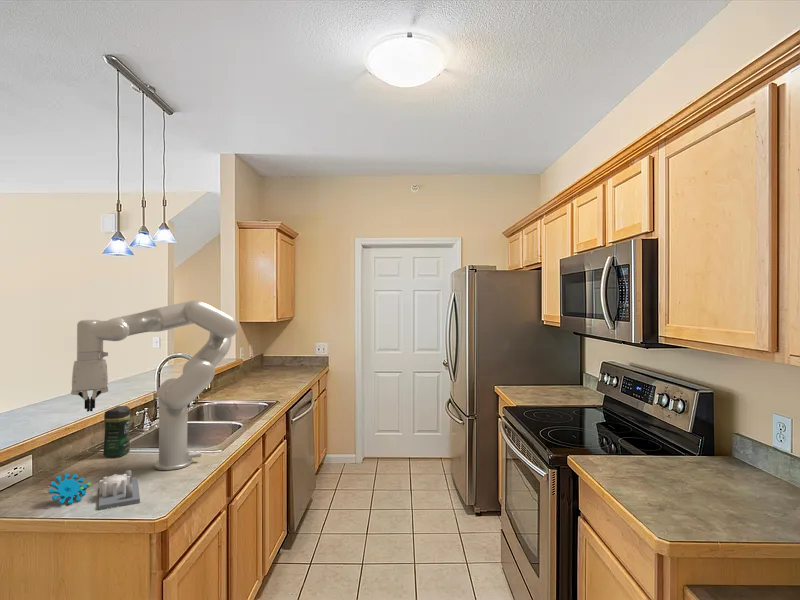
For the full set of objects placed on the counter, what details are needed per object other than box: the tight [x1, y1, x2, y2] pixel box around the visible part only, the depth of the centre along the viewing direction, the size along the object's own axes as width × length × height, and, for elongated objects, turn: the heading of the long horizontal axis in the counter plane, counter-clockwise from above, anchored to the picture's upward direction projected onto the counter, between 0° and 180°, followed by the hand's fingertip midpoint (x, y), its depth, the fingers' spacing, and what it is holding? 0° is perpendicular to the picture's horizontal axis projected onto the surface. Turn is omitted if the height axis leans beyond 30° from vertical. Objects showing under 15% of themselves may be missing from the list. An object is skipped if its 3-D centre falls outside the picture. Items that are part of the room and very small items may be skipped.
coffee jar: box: [103, 405, 131, 459], centre depth 193 cm, size 10×8×19 cm
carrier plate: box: [98, 469, 141, 511], centre depth 154 cm, size 11×20×5 cm, turn 30°
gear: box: [48, 473, 92, 505], centre depth 150 cm, size 11×6×10 cm
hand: (89, 410), depth 167 cm, fingers closed
